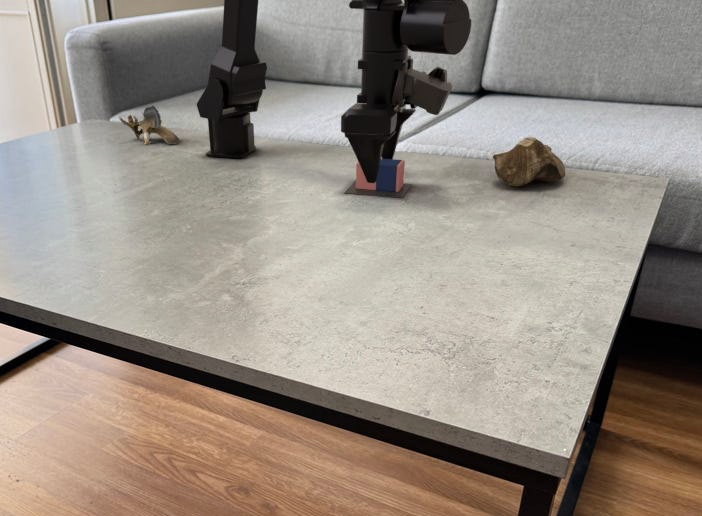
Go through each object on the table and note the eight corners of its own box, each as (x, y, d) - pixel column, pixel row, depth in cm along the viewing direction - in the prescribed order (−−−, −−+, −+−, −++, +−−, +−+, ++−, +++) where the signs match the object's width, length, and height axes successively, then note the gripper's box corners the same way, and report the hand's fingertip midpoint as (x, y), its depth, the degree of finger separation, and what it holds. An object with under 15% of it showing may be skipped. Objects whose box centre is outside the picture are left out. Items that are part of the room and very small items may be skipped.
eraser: (355, 188, 96) (356, 163, 94) (361, 182, 99) (362, 157, 97) (398, 192, 94) (400, 166, 92) (403, 185, 97) (405, 159, 95)
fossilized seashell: (554, 153, 99) (483, 168, 100) (563, 118, 93) (488, 134, 94) (571, 194, 96) (497, 208, 96) (582, 160, 90) (504, 176, 91)
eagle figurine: (116, 140, 122) (158, 133, 117) (119, 100, 122) (161, 92, 118) (144, 155, 128) (184, 149, 124) (146, 117, 129) (187, 110, 125)
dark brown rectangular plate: (344, 193, 95) (344, 192, 95) (355, 180, 100) (355, 180, 100) (402, 198, 93) (402, 197, 92) (411, 185, 97) (411, 184, 97)
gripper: (437, 61, 77) (426, 198, 85) (461, 40, 92) (450, 158, 100) (340, 60, 81) (338, 191, 89) (378, 39, 96) (374, 154, 104)
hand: (379, 173), depth 95 cm, fingers open, 9 cm apart
